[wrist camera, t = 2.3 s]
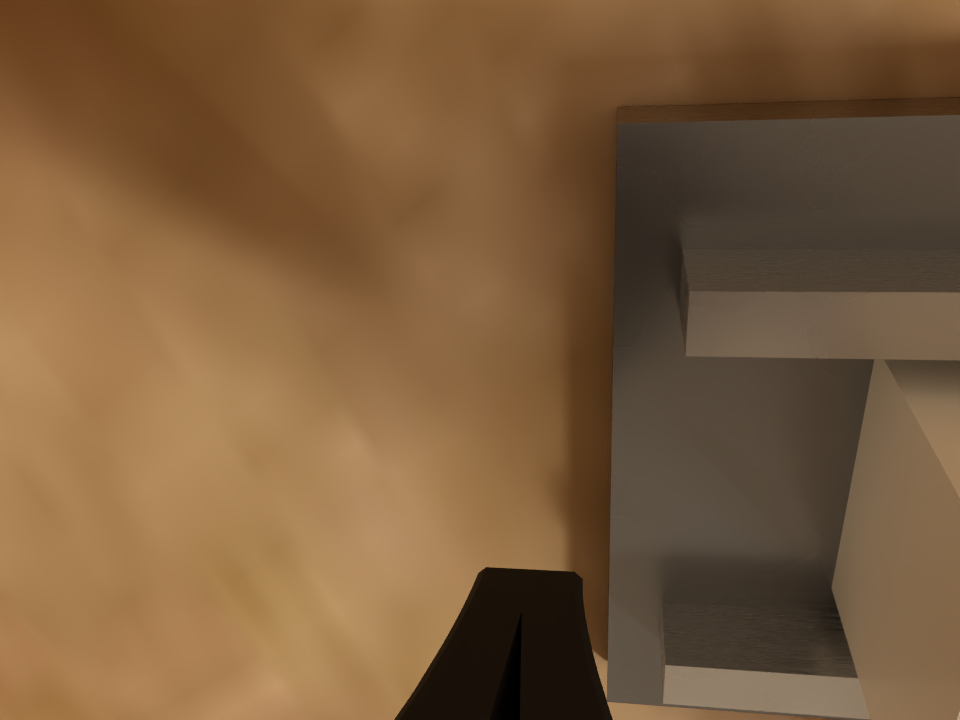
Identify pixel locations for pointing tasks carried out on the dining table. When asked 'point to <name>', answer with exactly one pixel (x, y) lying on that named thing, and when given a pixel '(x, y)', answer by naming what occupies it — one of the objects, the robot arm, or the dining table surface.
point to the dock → (761, 379)
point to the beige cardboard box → (905, 543)
